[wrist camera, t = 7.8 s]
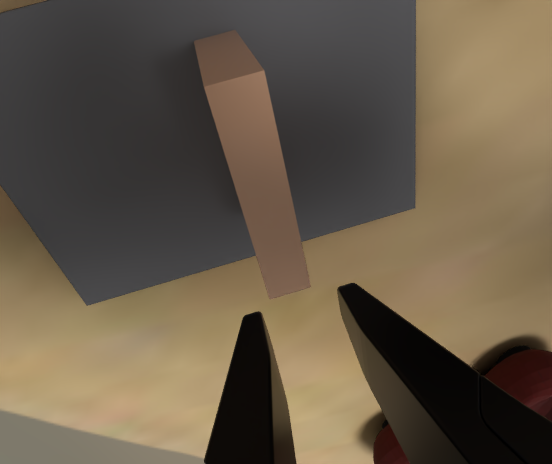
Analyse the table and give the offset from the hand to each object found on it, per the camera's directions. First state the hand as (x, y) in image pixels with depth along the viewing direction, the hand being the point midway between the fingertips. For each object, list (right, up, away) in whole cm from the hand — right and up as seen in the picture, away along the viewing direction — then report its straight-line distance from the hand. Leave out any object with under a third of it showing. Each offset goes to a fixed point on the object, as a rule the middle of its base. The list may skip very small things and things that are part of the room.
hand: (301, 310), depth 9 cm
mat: (-3, +6, +9) cm, 11 cm away
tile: (-2, +6, +8) cm, 10 cm away
